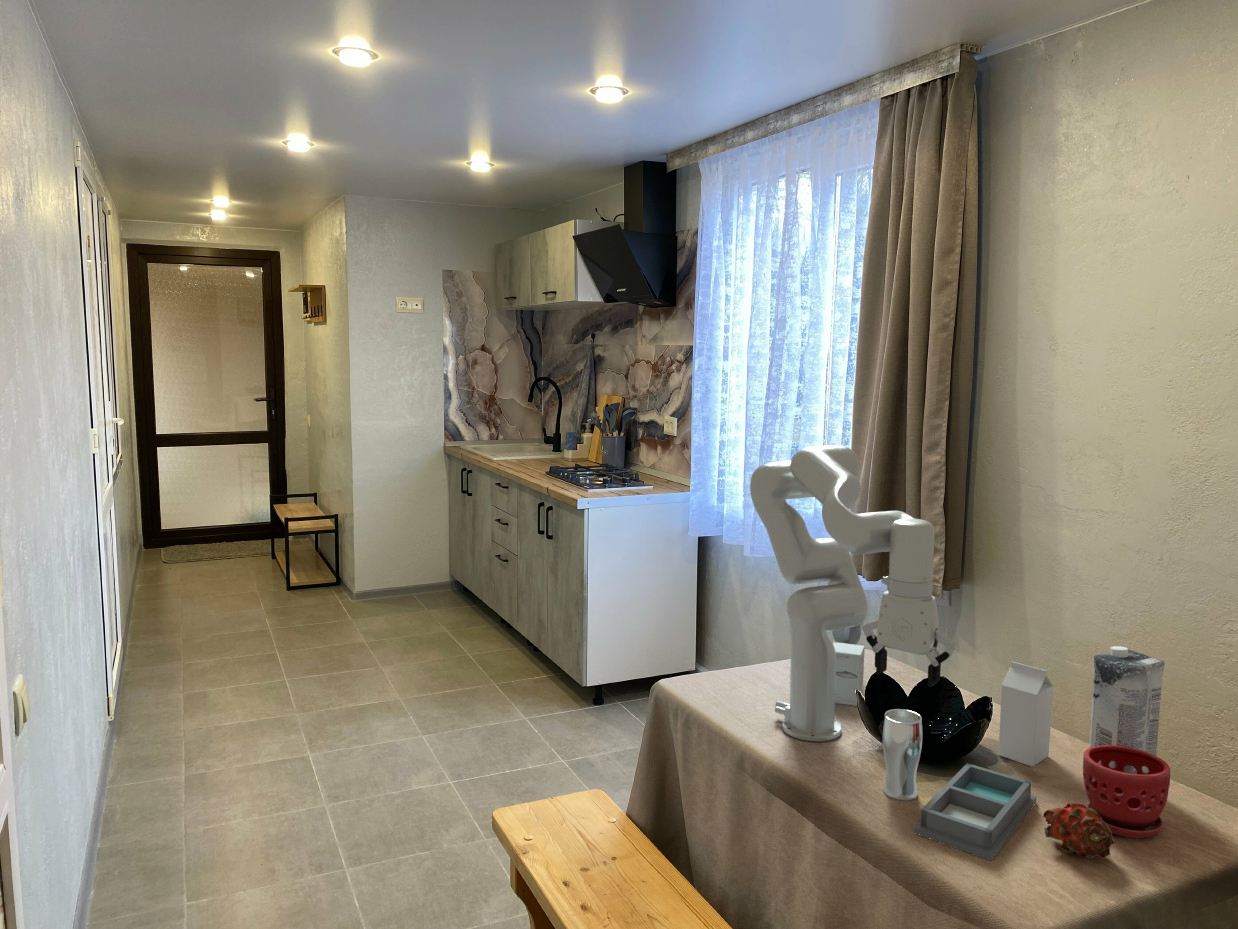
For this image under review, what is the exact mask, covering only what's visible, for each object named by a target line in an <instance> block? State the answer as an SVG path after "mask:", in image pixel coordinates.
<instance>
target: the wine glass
mask: <svg viewBox="0 0 1238 929" xmlns="http://www.w3.org/2000/svg"><path fill="white" fill-rule="evenodd" d="M862 626H864V622H863V623H861V624H860V625H858V626H854V627H849V628H842V629H835V630H831V631H830V633H831V637H832V640H833V642H837V643H845V644H853V645H858V643H859V642H860V640H861V639H862V634H863V632H864V631H863V629H862Z"/></svg>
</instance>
